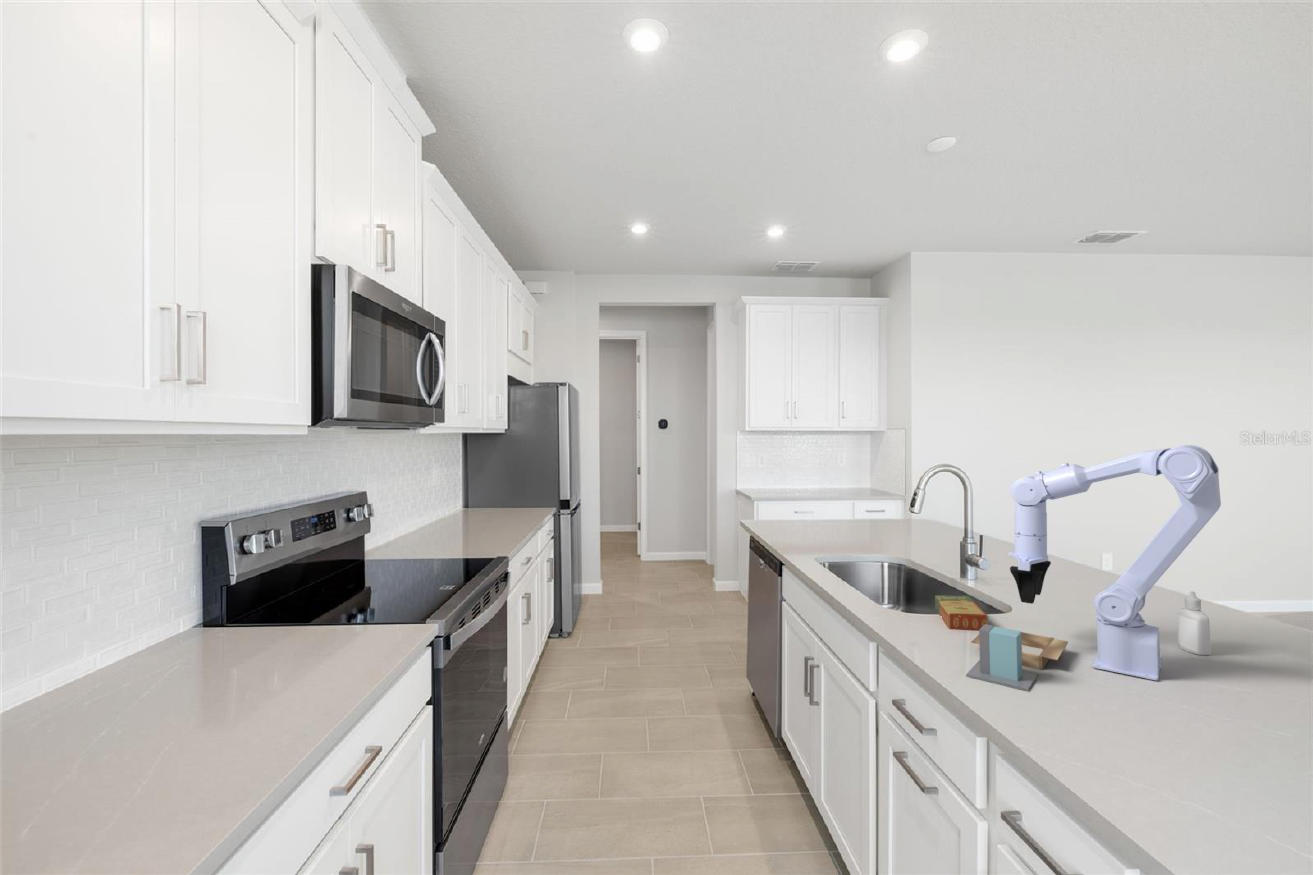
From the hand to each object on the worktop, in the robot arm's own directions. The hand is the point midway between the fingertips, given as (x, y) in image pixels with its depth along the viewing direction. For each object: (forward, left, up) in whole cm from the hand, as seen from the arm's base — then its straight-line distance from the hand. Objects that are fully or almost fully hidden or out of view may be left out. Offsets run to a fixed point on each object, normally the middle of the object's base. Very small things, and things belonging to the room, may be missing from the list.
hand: (1030, 598), depth 122 cm
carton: (+17, -10, -11) cm, 23 cm away
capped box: (+1, +19, -10) cm, 22 cm away
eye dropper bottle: (-25, -18, -11) cm, 32 cm away
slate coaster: (+1, +19, -10) cm, 22 cm away
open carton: (+1, +5, -10) cm, 12 cm away
